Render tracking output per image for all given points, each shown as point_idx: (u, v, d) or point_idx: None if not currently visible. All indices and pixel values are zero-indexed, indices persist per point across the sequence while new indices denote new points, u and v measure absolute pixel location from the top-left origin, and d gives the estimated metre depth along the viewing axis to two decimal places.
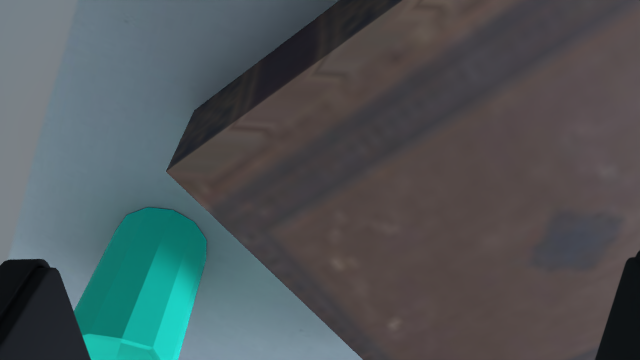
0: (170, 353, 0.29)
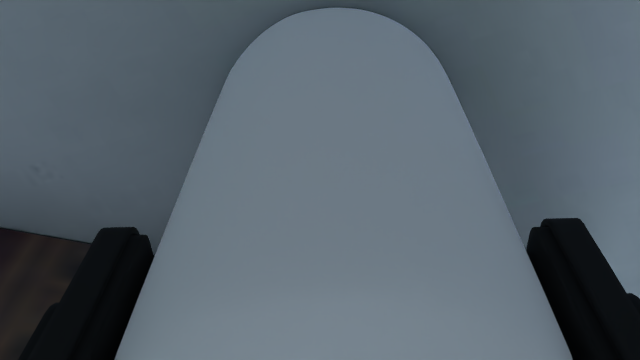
0: None
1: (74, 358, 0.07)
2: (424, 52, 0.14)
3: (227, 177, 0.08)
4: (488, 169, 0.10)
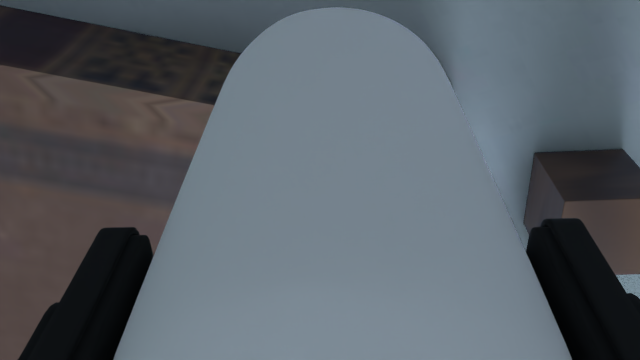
0: None
1: (74, 358, 0.07)
2: (423, 52, 0.14)
3: (226, 177, 0.08)
4: (487, 169, 0.10)
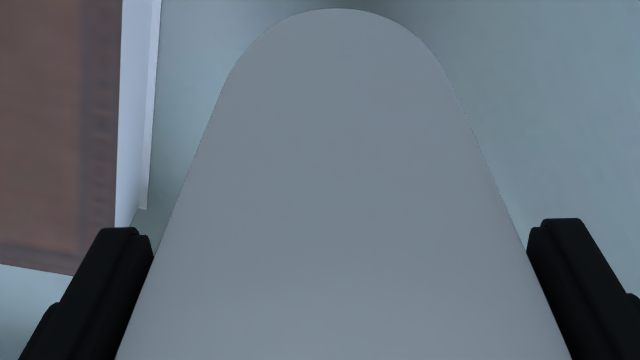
0: None
1: (74, 358, 0.07)
2: (424, 53, 0.14)
3: (227, 179, 0.08)
4: (488, 170, 0.10)
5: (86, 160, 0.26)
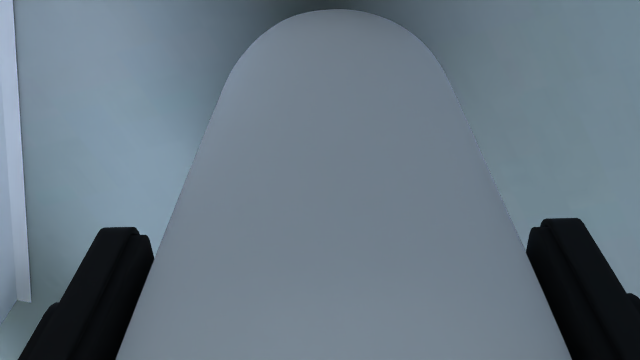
0: None
1: (74, 358, 0.07)
2: (424, 53, 0.14)
3: (228, 180, 0.08)
4: (488, 171, 0.10)
5: None
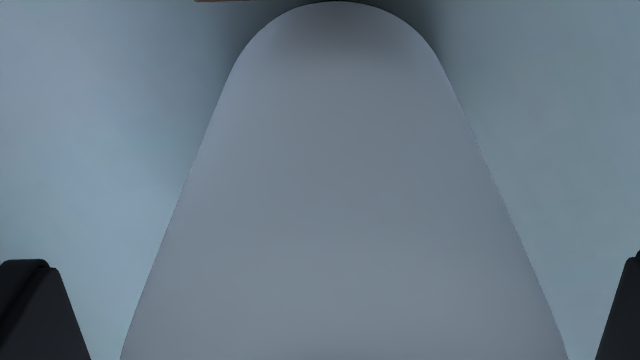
0: None
1: None
2: (420, 43, 0.14)
3: (236, 153, 0.09)
4: (478, 149, 0.11)
5: None
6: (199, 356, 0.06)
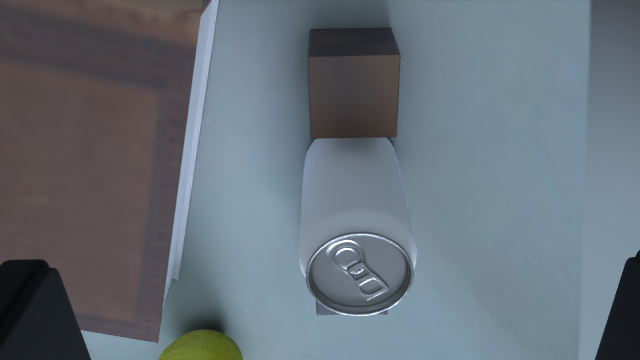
0: None
1: None
2: (384, 142, 0.38)
3: (328, 187, 0.32)
4: (400, 185, 0.34)
5: (146, 259, 0.37)
6: (329, 232, 0.29)
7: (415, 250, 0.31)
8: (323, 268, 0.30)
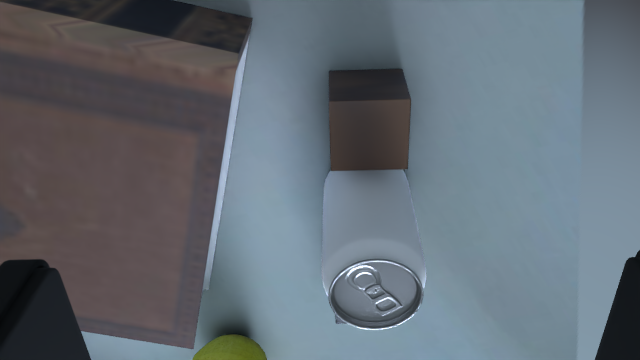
0: None
1: None
2: (396, 170, 0.42)
3: (347, 215, 0.36)
4: (411, 211, 0.38)
5: (184, 277, 0.41)
6: (349, 259, 0.34)
7: (424, 272, 0.35)
8: (344, 289, 0.34)
